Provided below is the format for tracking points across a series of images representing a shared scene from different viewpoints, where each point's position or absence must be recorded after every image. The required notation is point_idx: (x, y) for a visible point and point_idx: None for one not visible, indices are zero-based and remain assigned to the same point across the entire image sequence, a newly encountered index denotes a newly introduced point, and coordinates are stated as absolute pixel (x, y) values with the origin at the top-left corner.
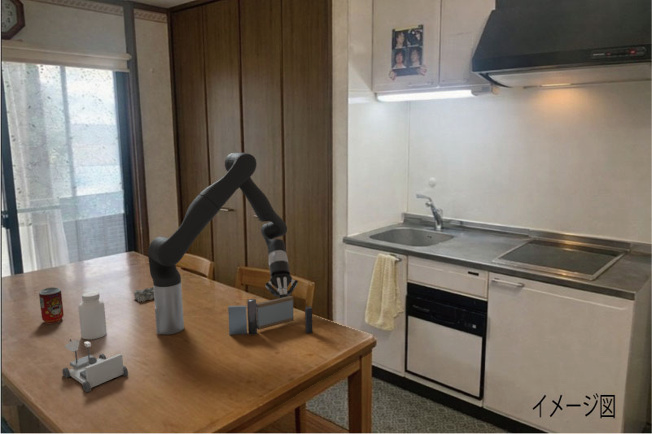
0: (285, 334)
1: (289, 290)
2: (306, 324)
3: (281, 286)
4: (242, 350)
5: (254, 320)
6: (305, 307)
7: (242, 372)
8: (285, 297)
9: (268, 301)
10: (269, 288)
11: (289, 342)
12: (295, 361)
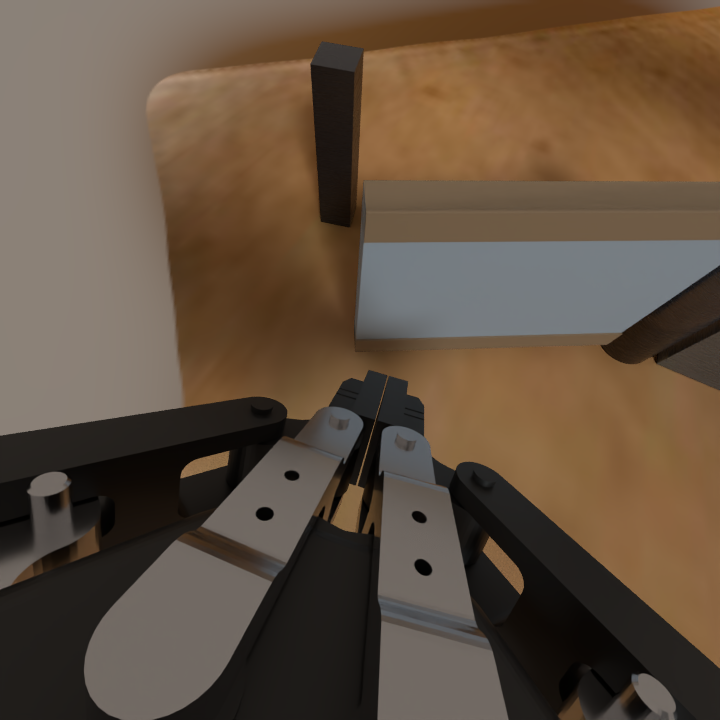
0: None
1: (264, 415)
2: (356, 170)
3: (382, 489)
4: None
5: None
6: (356, 65)
7: (680, 109)
8: (451, 202)
9: (663, 199)
10: (625, 611)
11: None
12: (497, 85)
